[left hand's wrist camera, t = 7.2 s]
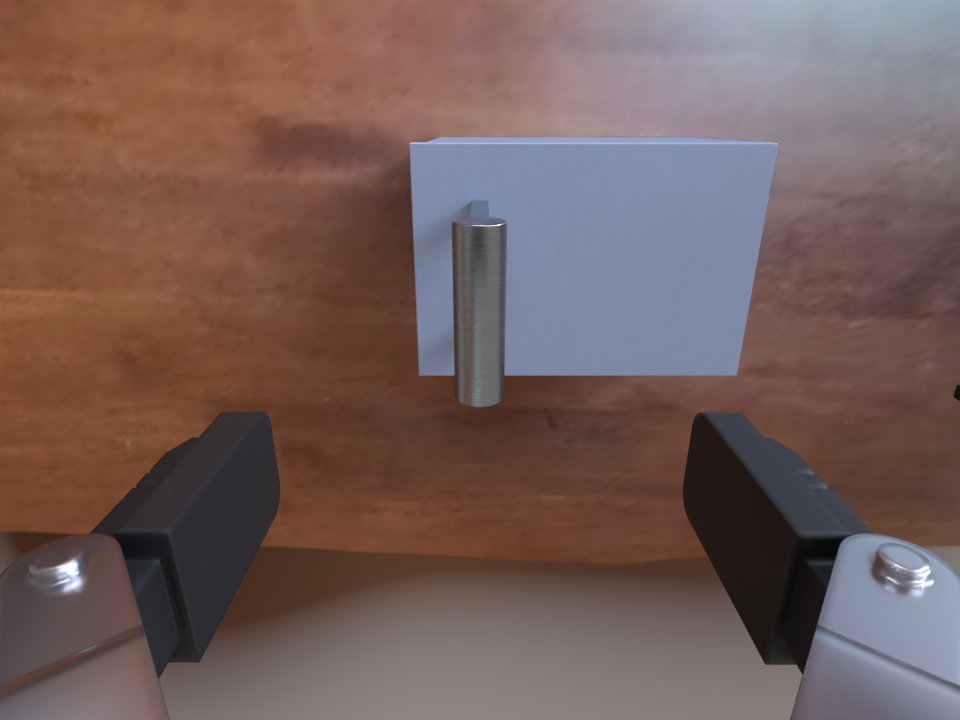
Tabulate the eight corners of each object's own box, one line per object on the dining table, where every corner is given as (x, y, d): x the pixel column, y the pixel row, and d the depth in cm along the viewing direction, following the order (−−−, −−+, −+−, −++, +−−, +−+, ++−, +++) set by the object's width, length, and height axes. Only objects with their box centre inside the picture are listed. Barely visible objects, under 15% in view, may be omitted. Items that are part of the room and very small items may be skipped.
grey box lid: (420, 368, 28) (397, 460, 21) (411, 142, 25) (379, 151, 17) (729, 368, 28) (823, 461, 21) (768, 142, 25) (903, 151, 17)
